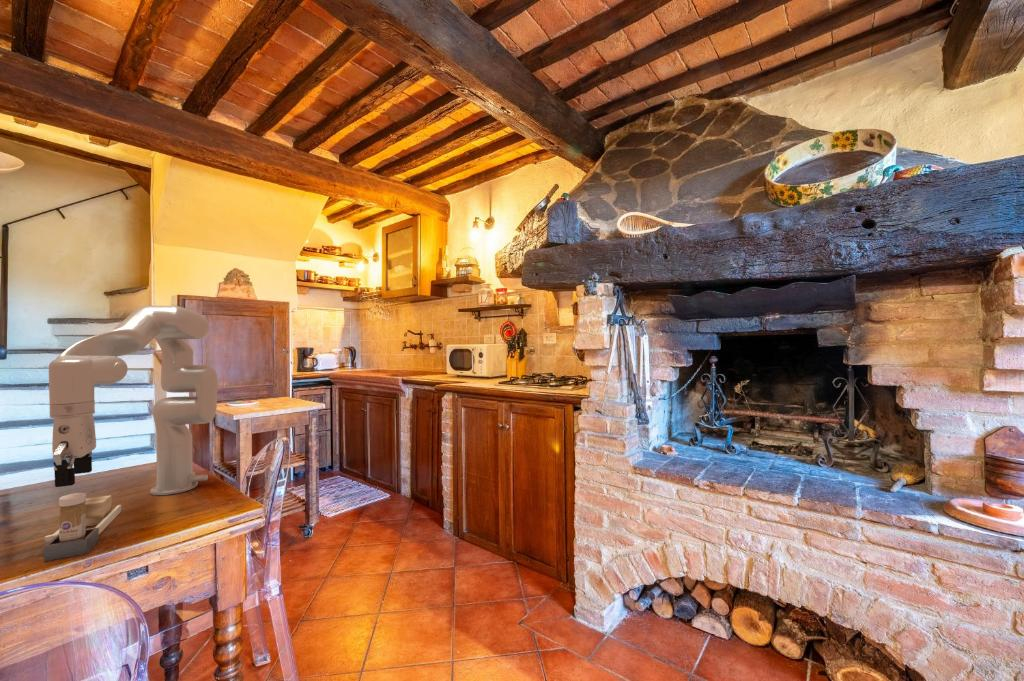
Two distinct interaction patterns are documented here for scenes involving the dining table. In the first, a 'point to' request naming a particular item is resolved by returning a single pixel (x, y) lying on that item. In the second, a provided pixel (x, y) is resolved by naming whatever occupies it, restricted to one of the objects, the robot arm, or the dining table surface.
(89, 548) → the winch socket
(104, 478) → the dining table surface
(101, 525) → the bay
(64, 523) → the sprinkles bottle
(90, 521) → the cardboard box
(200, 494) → the dining table surface
